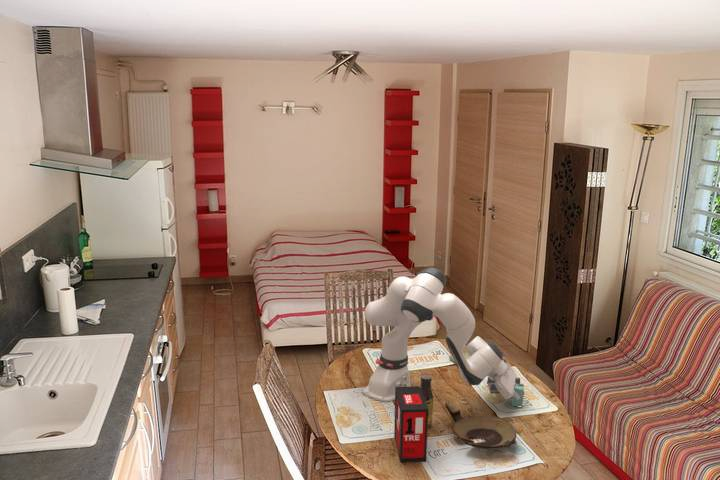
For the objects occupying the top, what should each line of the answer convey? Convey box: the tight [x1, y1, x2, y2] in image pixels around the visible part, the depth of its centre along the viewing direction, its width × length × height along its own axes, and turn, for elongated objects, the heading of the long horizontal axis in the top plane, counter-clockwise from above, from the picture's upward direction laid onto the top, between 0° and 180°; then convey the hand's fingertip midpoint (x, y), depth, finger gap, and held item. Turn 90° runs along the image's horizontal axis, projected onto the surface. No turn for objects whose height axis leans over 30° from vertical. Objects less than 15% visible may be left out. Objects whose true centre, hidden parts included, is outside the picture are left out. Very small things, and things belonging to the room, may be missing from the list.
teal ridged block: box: [511, 385, 525, 408], centre depth 242 cm, size 4×3×8 cm
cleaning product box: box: [393, 385, 428, 464], centre depth 210 cm, size 16×9×20 cm, turn 4°
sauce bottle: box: [420, 374, 434, 429], centre depth 226 cm, size 6×6×20 cm
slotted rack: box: [486, 376, 525, 395], centre depth 257 cm, size 14×10×4 cm
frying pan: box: [444, 402, 517, 450], centre depth 219 cm, size 22×30×8 cm
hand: (519, 395), depth 242 cm, fingers closed on teal ridged block, 3 cm apart
